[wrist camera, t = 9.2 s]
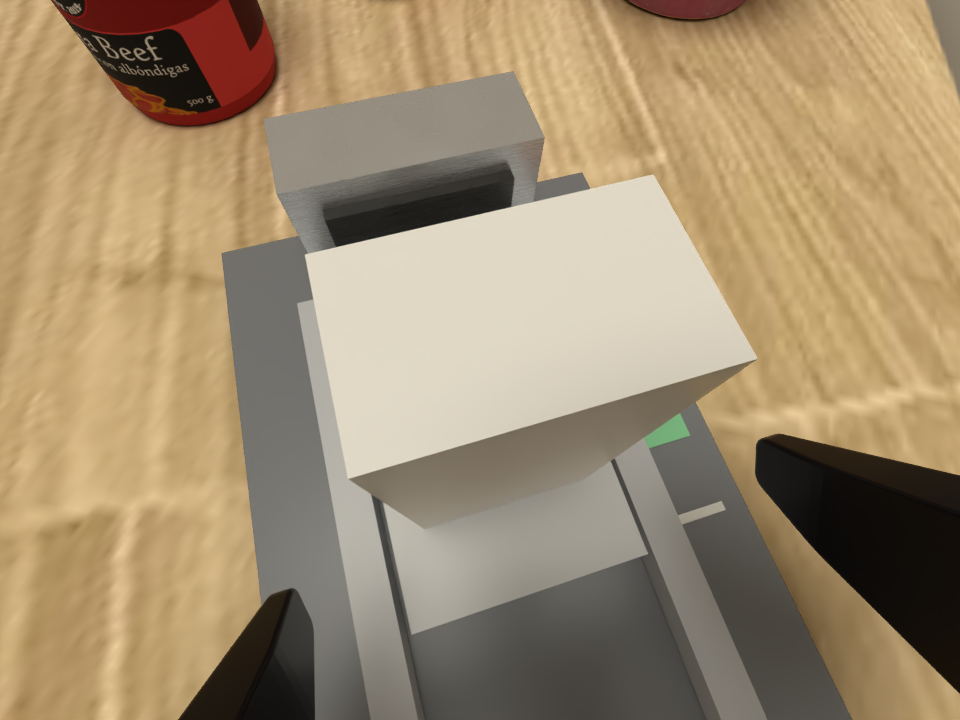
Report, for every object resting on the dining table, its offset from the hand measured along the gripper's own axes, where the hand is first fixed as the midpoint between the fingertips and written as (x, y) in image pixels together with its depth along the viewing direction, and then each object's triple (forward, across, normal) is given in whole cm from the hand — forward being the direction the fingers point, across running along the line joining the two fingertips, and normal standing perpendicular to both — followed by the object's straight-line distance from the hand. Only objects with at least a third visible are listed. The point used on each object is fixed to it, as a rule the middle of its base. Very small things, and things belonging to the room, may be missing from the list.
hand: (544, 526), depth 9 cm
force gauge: (+7, -2, +3) cm, 8 cm away
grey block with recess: (+13, 0, -3) cm, 14 cm away
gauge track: (+8, 0, +4) cm, 9 cm away
